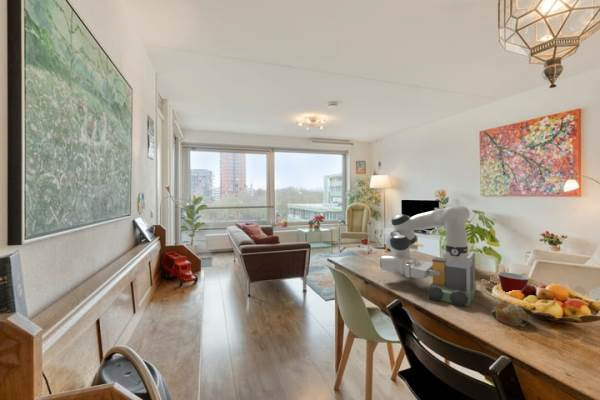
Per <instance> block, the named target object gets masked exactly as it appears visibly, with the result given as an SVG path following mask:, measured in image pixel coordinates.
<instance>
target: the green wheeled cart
mask: <svg viewBox="0 0 600 400" xmlns="http://www.w3.org/2000/svg"><path fill="white" fill-rule="evenodd" d="M470 262H471V263H470ZM476 292H477V282H476V251H474V250H472V251H471V252H469V253H468V257H467V258H466V262H458V261H450V262H449V263H448V264H447V265H446V285H445V286H442V285H437V284H433V283H431V284H430V285H429V286H428V287H427V288H426V298H427V299H430V300H431V301H433V302H434V301H435V302H438V301H441V302H446V303H451V304H453V305H455V306H457V307H463V306H465V307H470V305H471V303H472V301H473V298H474V296H475V294H476Z"/></svg>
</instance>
